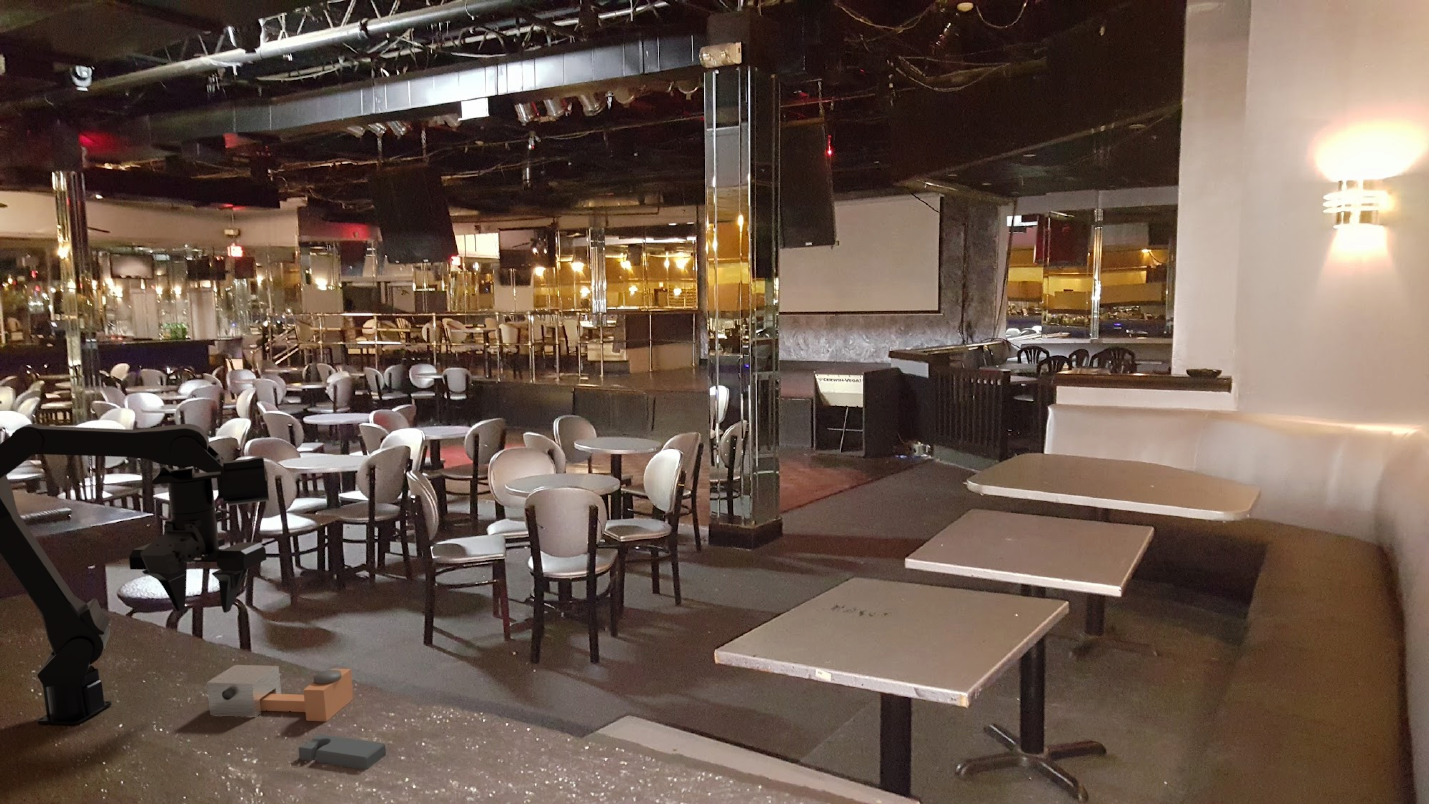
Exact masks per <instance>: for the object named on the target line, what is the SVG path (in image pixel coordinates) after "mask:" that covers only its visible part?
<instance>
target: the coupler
mask: <svg viewBox="0 0 1429 804" xmlns="http://www.w3.org/2000/svg"><path fill="white" fill-rule="evenodd" d="M352 675H353V674H352V669H351V668H331V669H328V670H322V671H320V672H318V673H316V674H315V675H314V676H312V677H313V682H312V683H310V684H309V685H308V686H306V687H305V688H304V689H303V694H293V693H290V694H289V693H281V694H266V695H265V696H263V697H262V698H261V699H260V707H261V712H262V711H263V712H264V711H265V712H266V710H267V711H268V712H289V711H291V712H292V713H294V712H295V713H305V719H306V720H305V721H307V722H328V721H329V720H330V719H331V718H333V717H334V716H335V715H336V714H338V713H339V712H340V711H341V710H342V709H343V708H344V707H345V706H347V705H348V704H349V703H350V702H351V701H353V700H354V687H353V677H352Z"/></svg>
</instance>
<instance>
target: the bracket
mask: <svg viewBox="0 0 1429 804" xmlns="http://www.w3.org/2000/svg"><path fill="white" fill-rule="evenodd" d="M386 754H387V750H386V744H385V743H384V742H377V741H369V740H363V739H357V738H356V739H355V738H348V737H342V736H335V735H329V734H321V733H319V734H318V735H316V736H314V737H313V738H312V739H311V741H310V742H305V743H304V744H302V745H300V746H299V747H298V756H299V758H298V759H299V760H303V761H308V762H312V761H314V760H315V761H316V762H317V763H319V764H320V763H322V764H328V765H335V766H340V767H347V768H353V769H358V770H368V769H370V768H371V767H372V766H374V765H375V764H376V763H377V762H379V761H380V760H381V759H382V758H384V757H385V756H387V755H386Z"/></svg>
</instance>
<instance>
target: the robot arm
mask: <svg viewBox="0 0 1429 804" xmlns="http://www.w3.org/2000/svg"><path fill="white" fill-rule="evenodd" d="M35 455H47V456H48V455H51V456H52V455H53V456H55V455H56V456H78V457H79V456H80V457H81V456H83V457H110V458H111V457H114V458H115V457H118V458H135V459H140V460H145V461H148V462H151V463H155V464H160V465H162V466H161V468H160V471H159V472H158V473H157V474H156V475H154V476H153V478H152V479H151V484H152V485H154V486H156V485H163V484H167V490H168V491H167V492H168V500H169V509H170V519H167V520H165V521H164V525H163V534H162V535H160V536H159V537H157V538H156V539H154V540H153V541H152V542H150V543H148V544H144V545H142V546H138V547H136V548H133V549H132V551H131V553H130V555H129V557H128V563H129V570H138V571H139V570H142V574H143V575H147V576H150V577H151V578H153V579H156V580H157V581H158V582H159V583H160V585H161V586H162V587H163V589H164V591H165V592H166V594H167V596H168V598H169V600H170V601H171V604H172V605H173V607H174V608H175V610H176V612H179V613H180V612H182V611H185V607H186V600H187V573H188V571H187V570H188V563H193V562H194V563H216V566H217V567H218V568H219V569H218V570H216V571H213V572H212V573H211V575H212V576H213V577H214V578H215V579H217V581H218V586H219V596H220V597H219V598H220V603H221V609H222V612H223V614H224V613H225V614H227V613H229V612H230V611H231V610H232V608H233V605H234V602H235V599H236V596H237V594H238V591H239V589H240V586H241V584H242V581H244V578H245V575H246V574H247V571H248V570H249V568H251V567H254V566H255V565H258V564H260V563H263V562H264V561H266V560H267V552H266V547H265V546H264V545H263V544H262V543H261V542H256V541H255V542H251V541H250V542H249V541H248V542H247V541H246V542H245V541H244V542H242V541H240V542H237V543H235V544H233V545H230V546H227V547H225V548H220V547H223V546H226V542H225V537H219V535H218V526H217V525H218V523H217V521H219V520H221V519H223V514H222V513H223V512H222V511H216V505H215V497H214V495H215V494H214V485H213V479H216V483H217V484H216V485H217V495H218V500H219V501H220V500H221V501H223V503H225V502H227V506H235V505H243V504H244V505H245V504H250V503H251V504H252V503H261V502H262V503H263V502H269V501H270V495H269V494H270V493H269V482H268V474H266V468H265V458H264V456H261V455H260V456H254V457H250V458H246V459H238V460H237V459H236V460H227V461H226V459H225V458H224V457H223V455H222V454H220V453H219V452H218V451H217V450H216V449H214V448H213V447H212V446H211V444H210V437H209V436H208V434H207V432H205V430H204V429H203V428H202V427H201V426H198V425H196V424H194V423H181V424H171V425H163V426H162V425H161V426H154V427H149V428H141V429H140V428H139V429H129V428H128V429H126V428H103V427H83V426H81V427H79V426H57V425H44V424H39V423H28V424H25V425H22V426H21V427H19V428H18V429H16V430H15V431H13V432H12V434H11V436H9V437H7V438H6V439H4V440H3V441H2V442H1V443H0V557H1V559H2V560H3V561H4V563H5V564H6V566H7V567H8V569H9V570H10V571H11V573H12V574H13V576H14V578H16V580H17V581H18V583H19V584H20V586H21V587H22V588H23V590H24V591H25V593H26V594H27V595H28V597H29V598H30V600H31V602H32V603H33V604H34V605H35V608H36V609H37V611H39V613H40V615H41V616H42V620H43V623H44V624H43V625H44V629H45V633H46V637H47V640H48V642H49V645H50V647H51V650H52V651H51V652H50V653H49V655H48V656H47V657H46V660H45V661H44V663H43V665H42V667H41V668H40V669H39V671H38V673H37V675H36V676H37V678H38V680H39V681H40V683H41V685H42V689H43V700H44V705H45V706H44V707H45V713H46V714H45V715H43V716H40V717H39V718H38V719H36V722H37V724H40V725H43V724H45V725H46V724H47V725H73V726H75V725H78V724H80V723H83V722H84V721H86V720H88V719H89V718H91V717H94V716H95V715H96V714H98V713H100V712H102V711H104V710H105V709H107V708H108V707H111V706H112V705H113V701H111V700H105V698H104V691H103V681H102V679H100V674H99V673H100V672H99V668H95V667H94V665H92V664H94V663H95V662H97V661H98V659H100V657H101V656H102V655H103V652H104V649H105V648H106V646H107V643H108V641H109V639H110V636H111V628H110V625H109V624H110V623H111V621H112V618H111V617H109V615H107V614H105V613H104V611H103V610H102V608H101V605H100V603H99V601H98V599H97V598H95V597H93V598H92V599H91V600H90V601H88V602H85V601H83V600H82V599H80V598H79V597H77V596H76V595H75V594H74V593H73V592H72V590H71V588H70V587H69V585H68V583H66V581H65V580H64V578H63V577H62V575H61V574H60V572H59V571H58V569H57V568H56V566H55V565H54V563H53V562H52V561H51V559H50V557H48V555H47V553H46V551H45V550H44V549H43V547H42V545H40V542H38V540H37V538H36V537H35V535H34V534H33V532H32V531H31V530H30V528H29V527H28V525H27V524H26V523H25V521H24V519H23V518H22V517H21V515H20V513H19V511H18V508H17V504H16V501H15V495H14V492H13V488H12V486H11V483H10V482H9V479H8V476H7V475H9V474H10V473H12V472H13V471H14V470H15V469H17V468H18V467H20V466H21V465H22V464H23V463H26V461H27V460H29V459H30V458H31V457H33V456H35ZM168 466H171V467H177V468H179V469H172V468H170V467H168ZM194 468H196V469H197V470H200V471H202V472H195V469H194Z"/></svg>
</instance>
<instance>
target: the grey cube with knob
mask: <svg viewBox="0 0 1429 804" xmlns="http://www.w3.org/2000/svg"><path fill="white" fill-rule="evenodd" d="M280 677H281V676H280V666H279V665H257V664H256V665H254V664H253V665H251V664H250V665H249V664H234V665H232V666H231V667H230V668H228V669H225V670H224V671H223V672H221V673H220V674H218V675H217V676H214V677H213V678H211V679H210V680H208V681H207V682H206V690H207V698H208V704H209V705H208V708H209V715H217V716H216V717H222V716H254V717H256V716H257V717H259V716H260V715H261V714H262V711H261V707H260V699H261V698H262V697H263V696H265V695H266V694H282V686H281V678H280ZM259 714H260V715H259ZM258 715H259V716H258ZM257 717H256V718H257Z"/></svg>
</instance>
